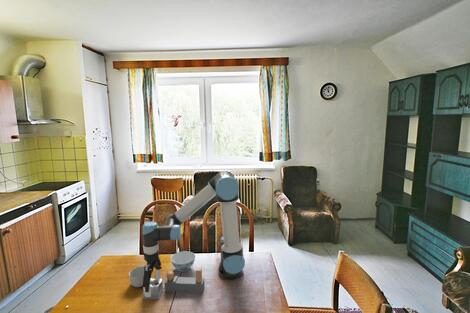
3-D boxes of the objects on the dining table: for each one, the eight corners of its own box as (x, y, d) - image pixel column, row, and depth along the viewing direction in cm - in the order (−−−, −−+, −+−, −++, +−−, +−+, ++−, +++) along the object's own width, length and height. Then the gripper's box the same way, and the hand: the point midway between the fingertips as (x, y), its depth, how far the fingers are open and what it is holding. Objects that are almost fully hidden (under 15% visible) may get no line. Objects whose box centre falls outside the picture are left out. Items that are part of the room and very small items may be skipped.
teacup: (143, 291, 141) (142, 277, 140) (125, 288, 143) (124, 275, 142) (155, 276, 155) (155, 263, 154) (139, 274, 157) (138, 261, 156)
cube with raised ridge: (162, 289, 142) (162, 277, 141) (158, 297, 136) (157, 285, 135) (148, 288, 143) (148, 276, 142) (143, 296, 136) (143, 284, 135)
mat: (164, 288, 143) (164, 287, 143) (158, 299, 135) (158, 298, 135) (148, 287, 144) (148, 287, 144) (141, 298, 135) (141, 298, 135)
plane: (204, 286, 145) (203, 266, 143) (202, 292, 140) (201, 272, 138) (168, 284, 147) (167, 265, 145) (164, 291, 141) (163, 270, 139)
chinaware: (198, 263, 168) (198, 252, 167) (190, 276, 154) (190, 265, 153) (177, 261, 171) (176, 250, 170) (167, 274, 156) (166, 262, 155)
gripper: (153, 240, 148) (155, 274, 151) (133, 264, 124) (136, 304, 127) (165, 240, 148) (167, 274, 151) (148, 264, 123) (150, 304, 126)
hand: (153, 288), depth 139 cm, fingers open, 13 cm apart
